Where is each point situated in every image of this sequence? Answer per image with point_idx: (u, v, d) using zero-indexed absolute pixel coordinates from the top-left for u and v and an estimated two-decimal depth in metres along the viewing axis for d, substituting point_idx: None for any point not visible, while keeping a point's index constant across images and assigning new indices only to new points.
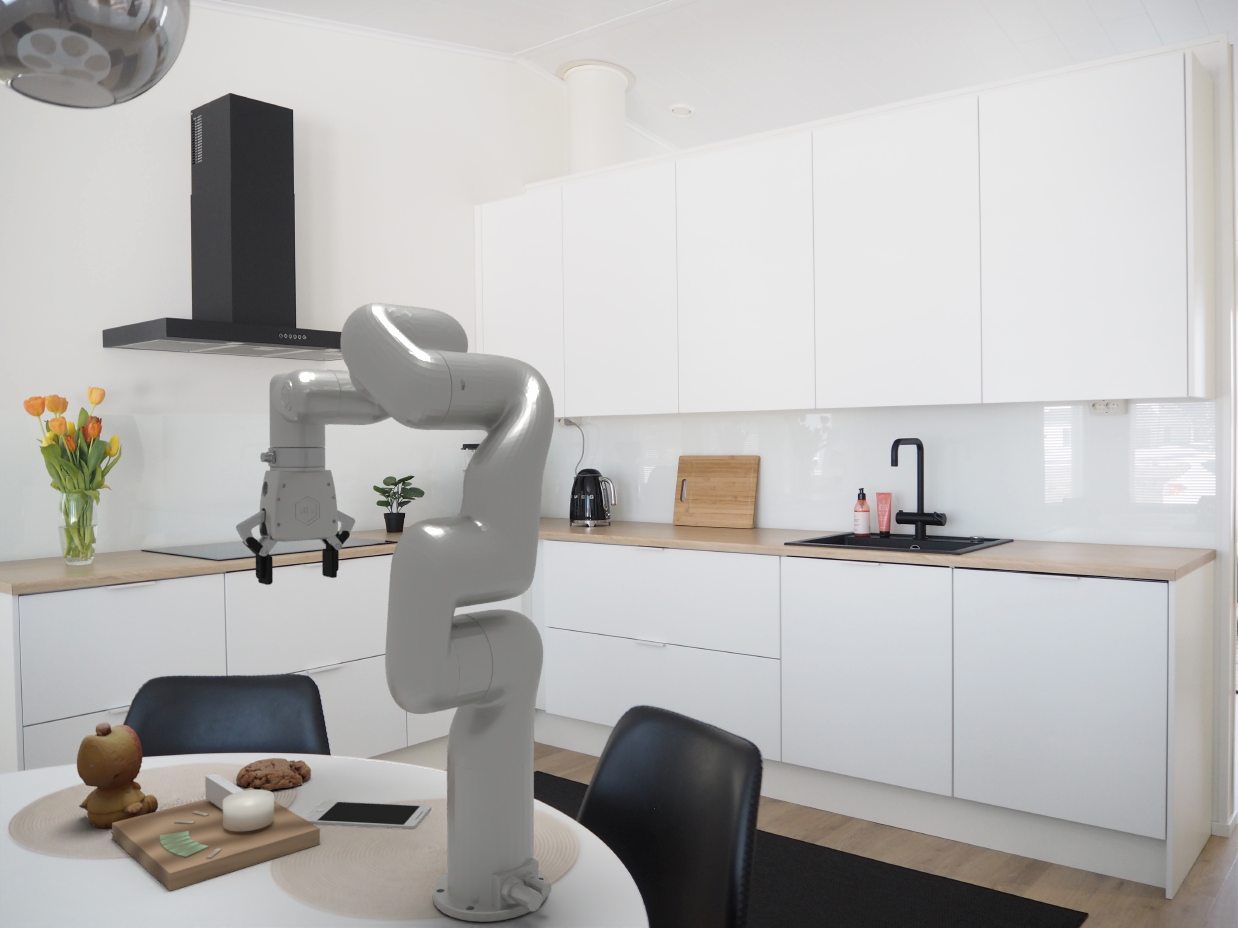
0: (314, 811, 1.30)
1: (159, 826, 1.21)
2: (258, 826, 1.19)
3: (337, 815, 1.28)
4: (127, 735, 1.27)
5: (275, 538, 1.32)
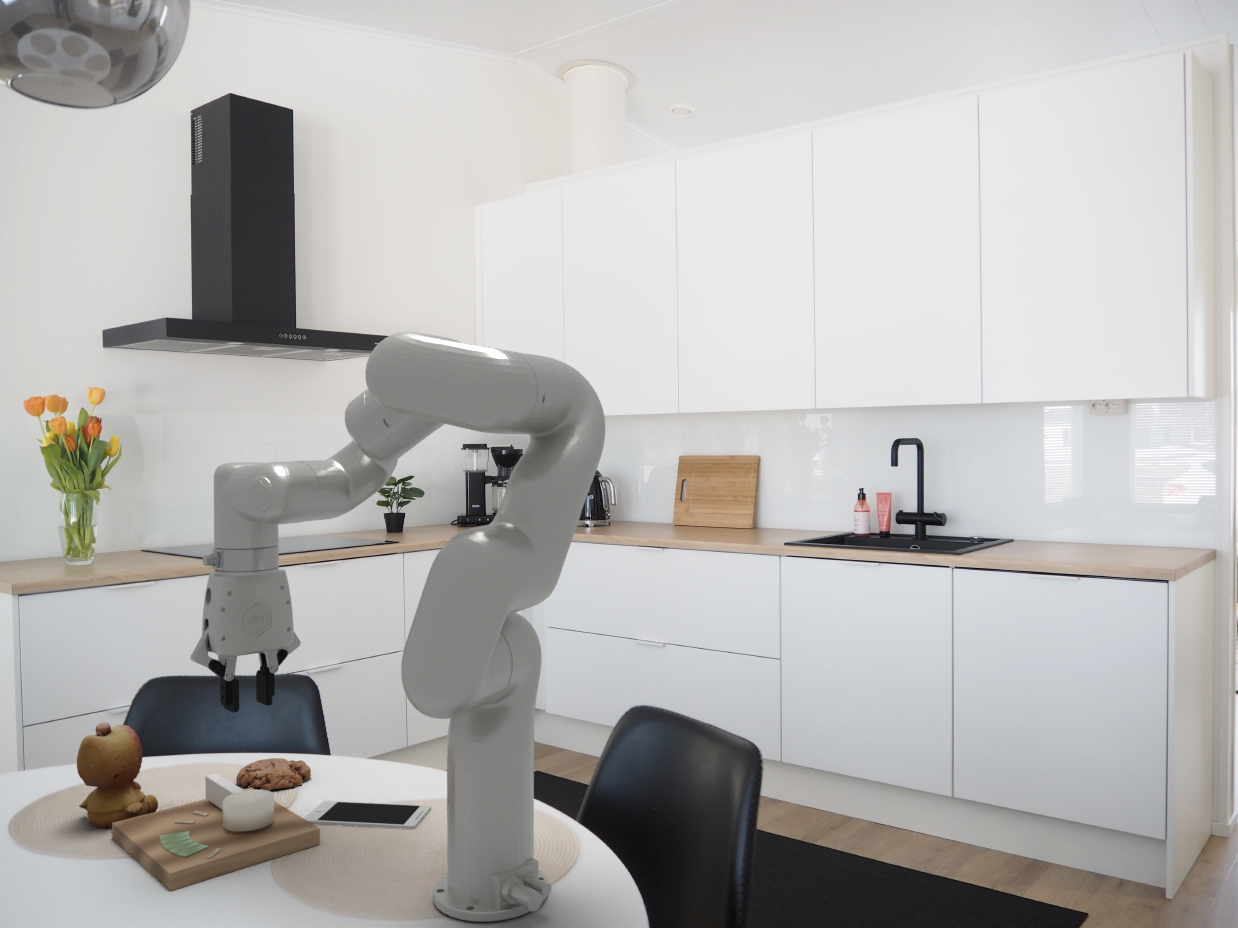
0: (314, 811, 1.30)
1: (159, 826, 1.21)
2: (258, 826, 1.19)
3: (337, 815, 1.28)
4: (127, 735, 1.27)
5: (219, 654, 1.15)
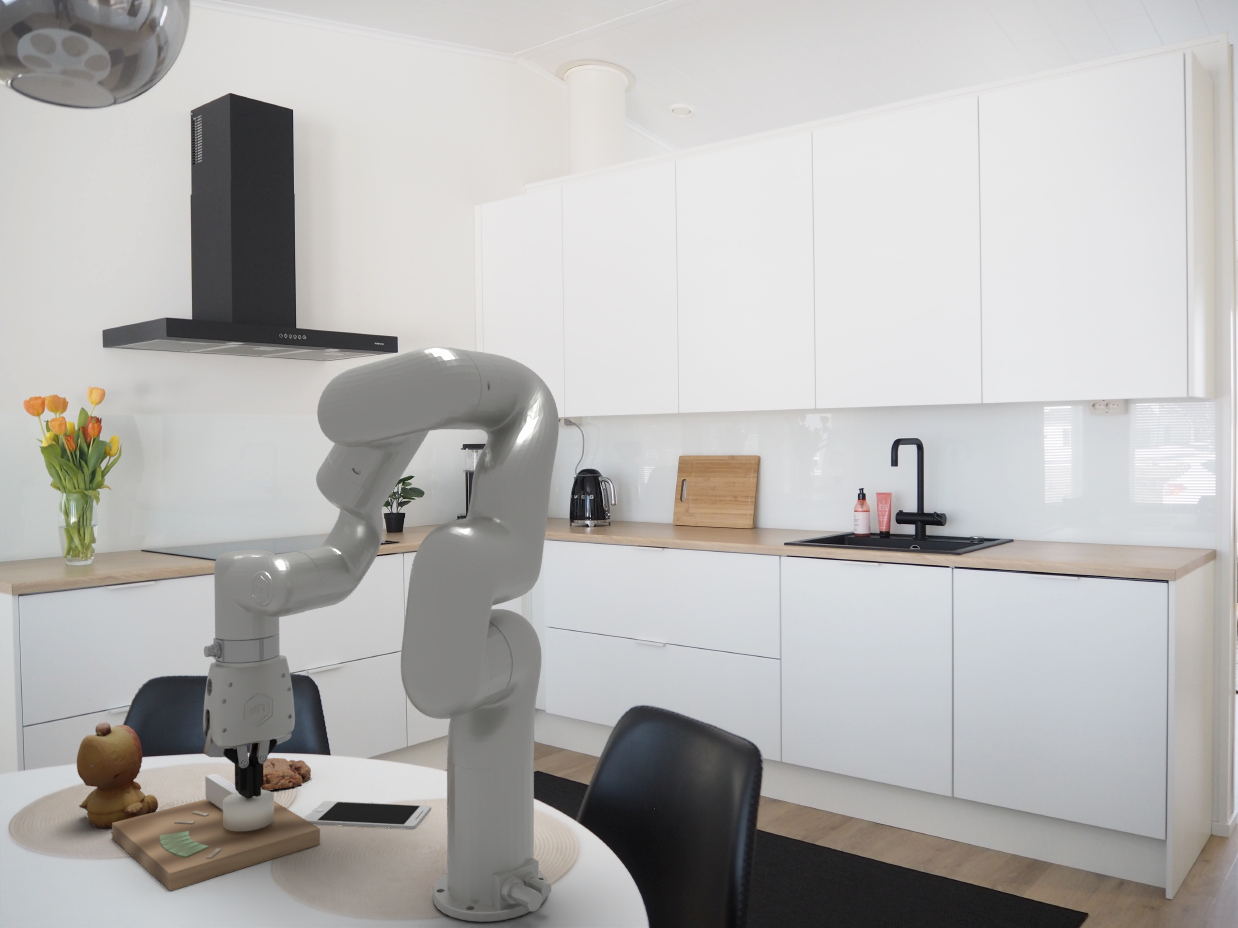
0: (314, 811, 1.30)
1: (159, 826, 1.21)
2: (258, 826, 1.19)
3: (337, 815, 1.28)
4: (127, 735, 1.27)
5: (221, 746, 1.16)
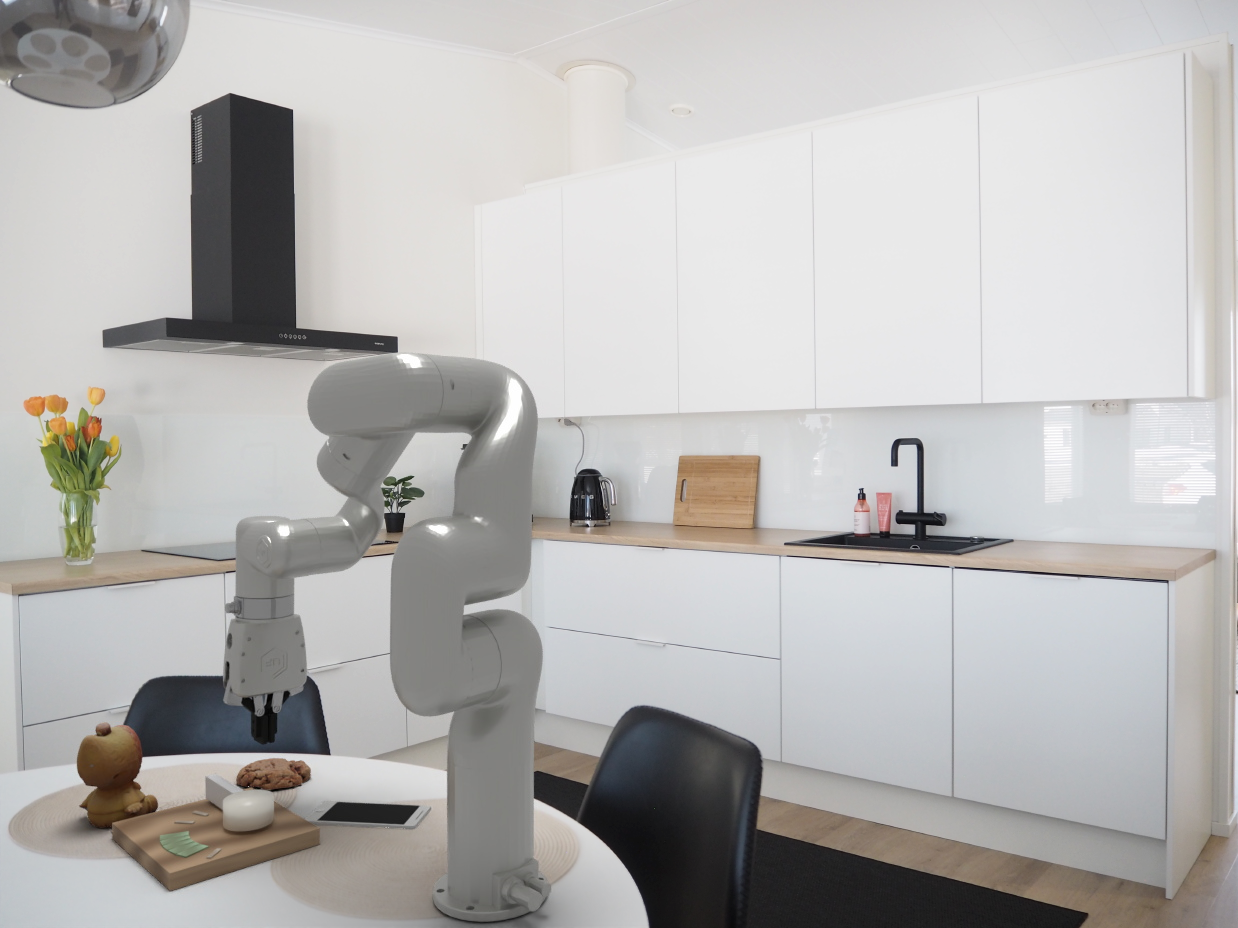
0: (314, 811, 1.30)
1: (159, 826, 1.21)
2: (258, 826, 1.19)
3: (337, 816, 1.28)
4: (127, 735, 1.27)
5: (239, 695, 1.26)
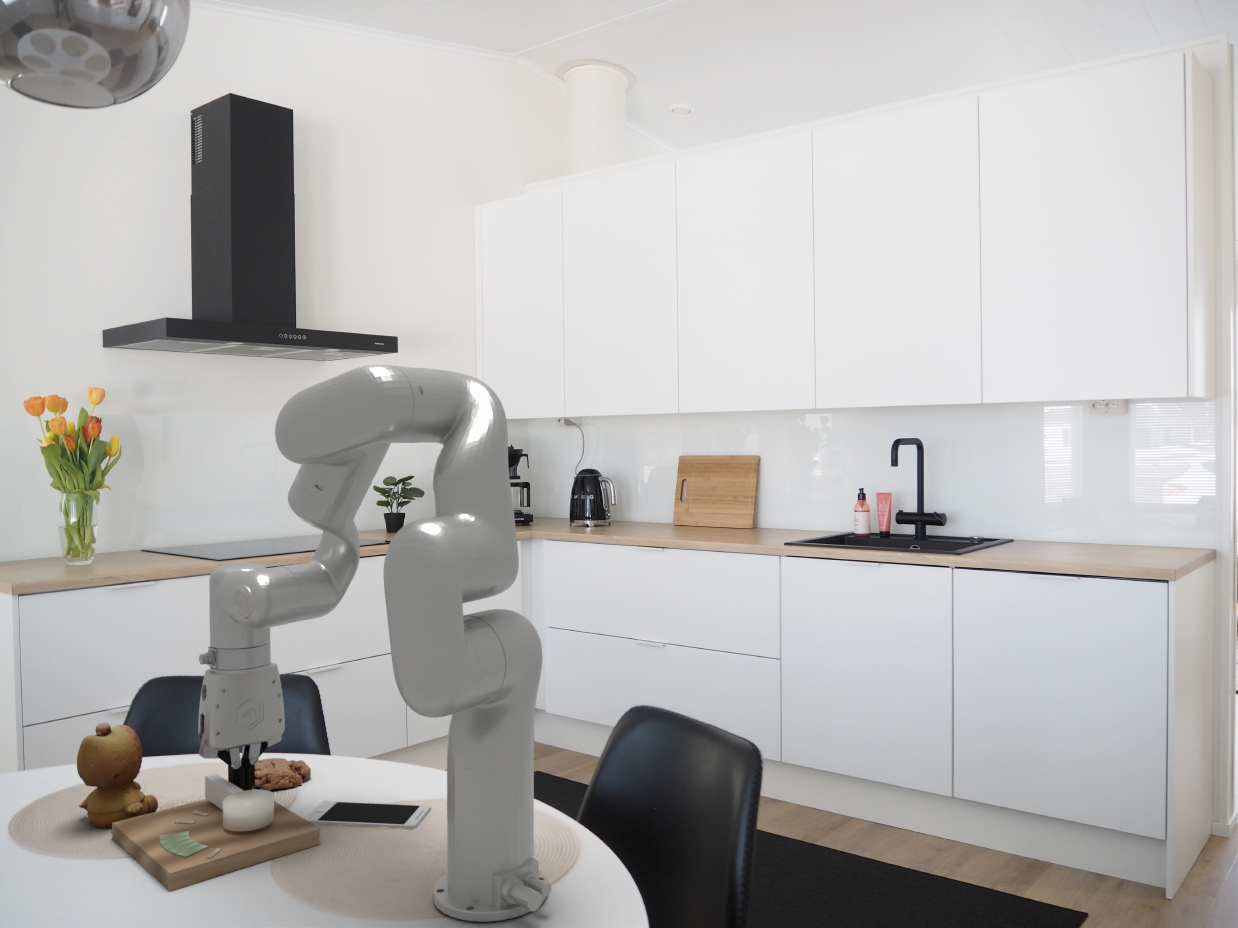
0: (314, 811, 1.30)
1: (159, 826, 1.21)
2: (258, 826, 1.19)
3: (337, 815, 1.28)
4: (127, 735, 1.27)
5: (214, 748, 1.23)
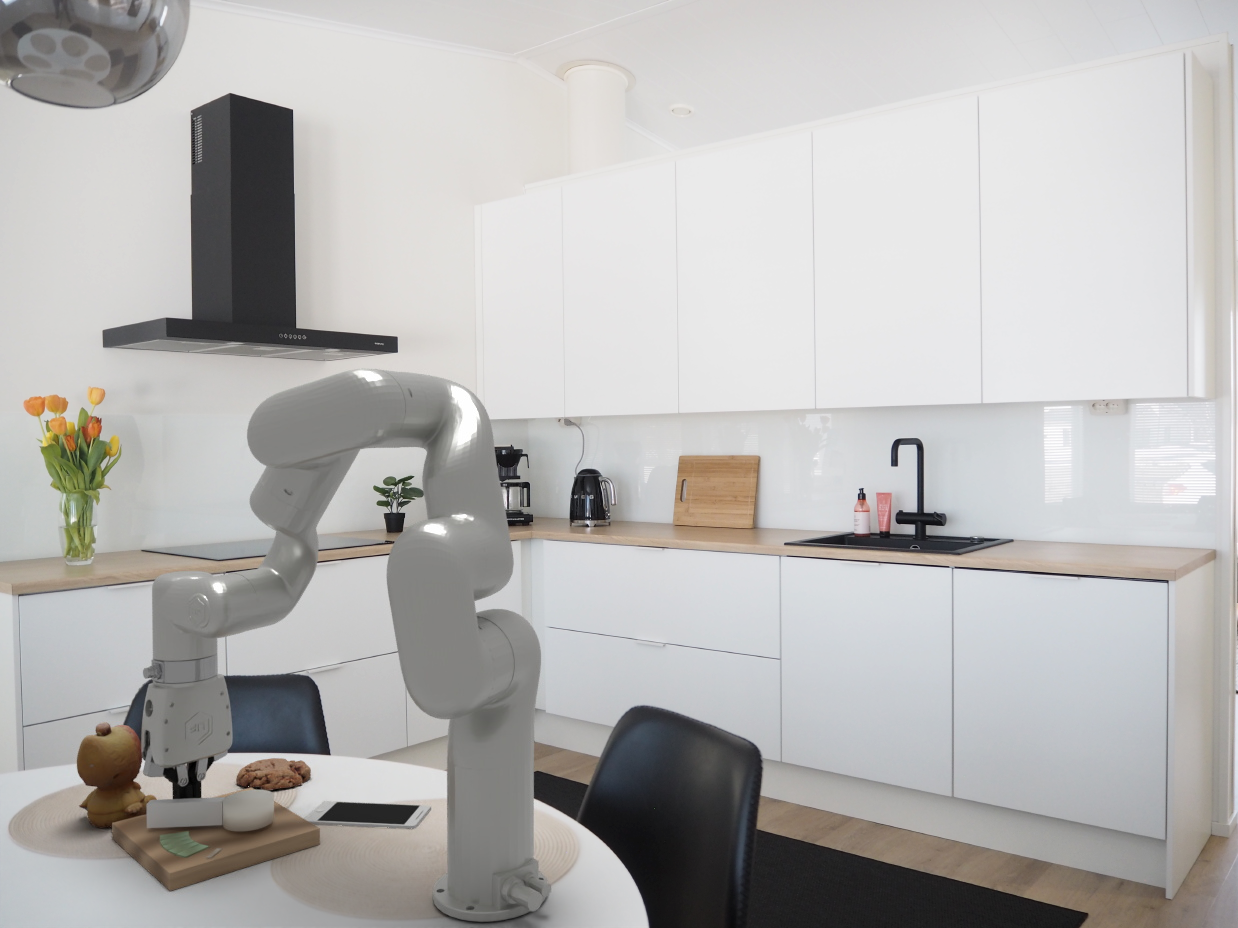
0: (314, 811, 1.30)
1: None
2: (273, 819, 1.21)
3: (337, 816, 1.28)
4: (127, 735, 1.27)
5: (163, 765, 1.17)
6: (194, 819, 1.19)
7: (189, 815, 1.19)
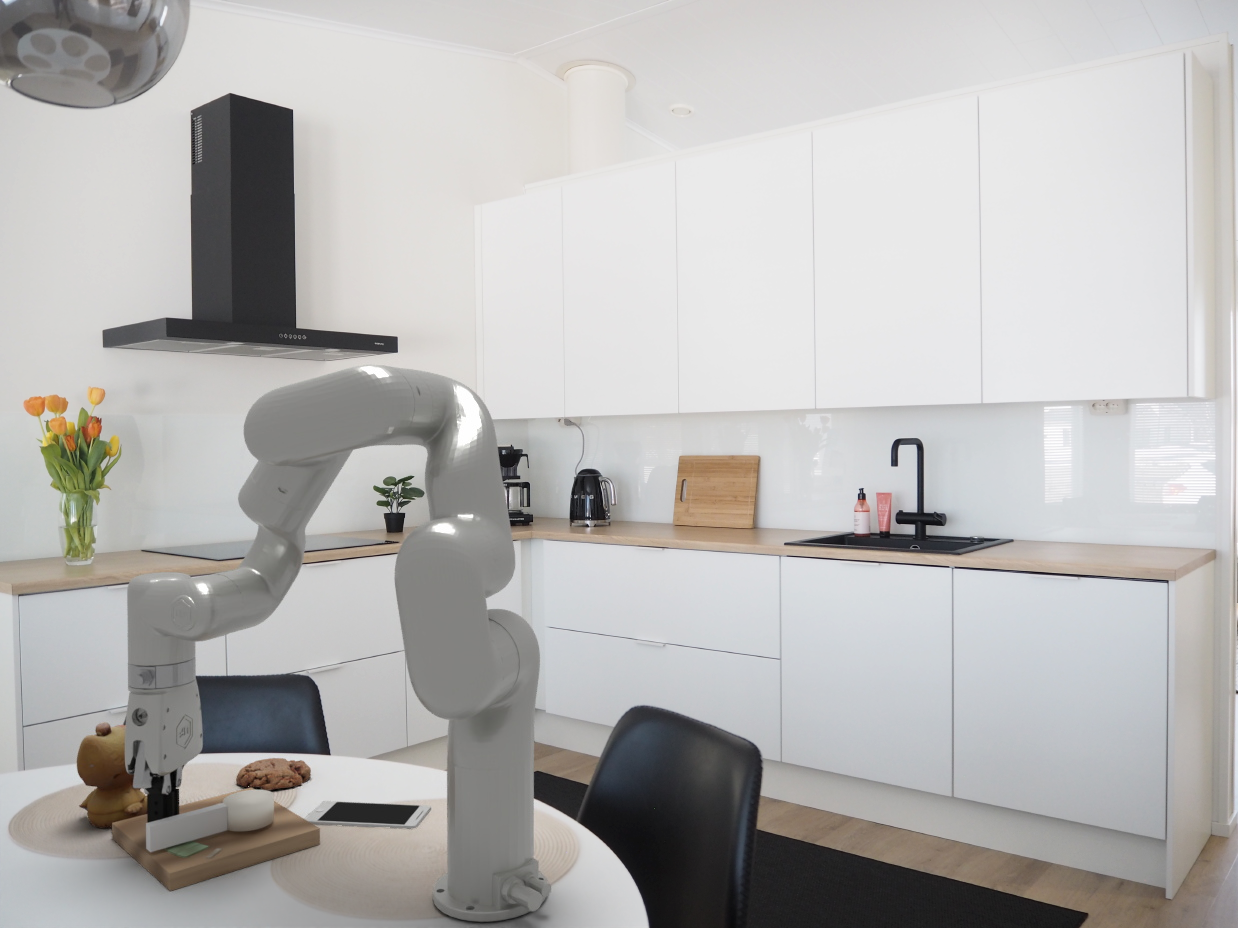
0: (314, 811, 1.30)
1: None
2: None
3: (337, 816, 1.28)
4: None
5: (162, 773, 1.13)
6: (199, 831, 1.16)
7: (194, 828, 1.15)
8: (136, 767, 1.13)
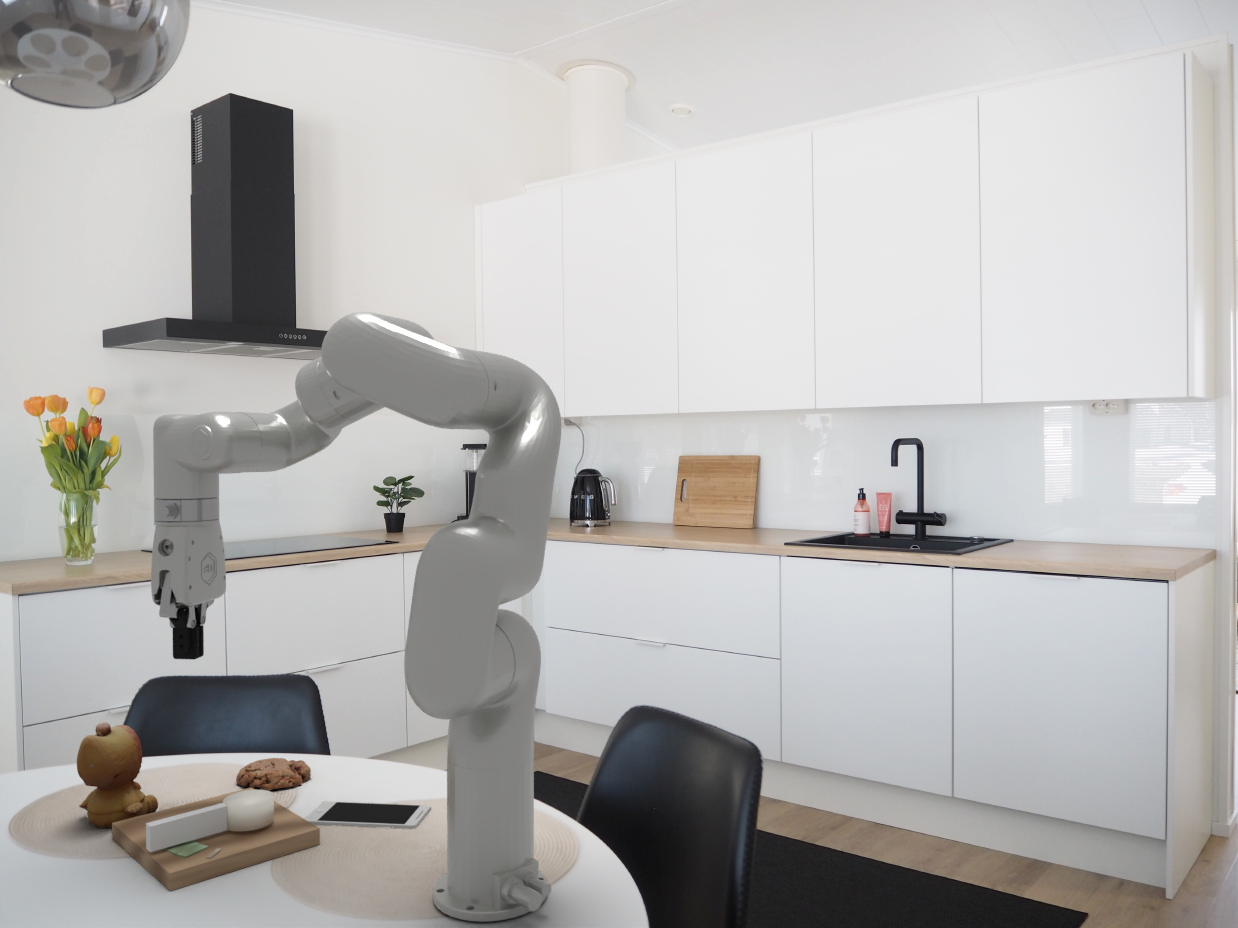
0: (314, 811, 1.30)
1: None
2: None
3: (337, 816, 1.28)
4: (127, 735, 1.27)
5: (187, 603, 1.16)
6: (199, 831, 1.16)
7: (194, 828, 1.15)
8: (162, 597, 1.16)
